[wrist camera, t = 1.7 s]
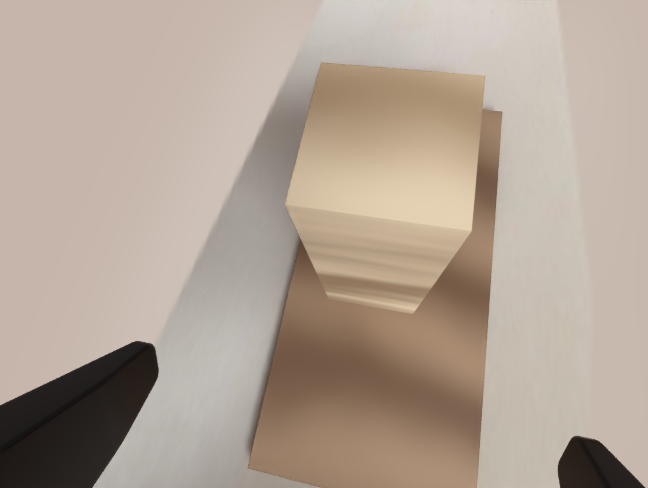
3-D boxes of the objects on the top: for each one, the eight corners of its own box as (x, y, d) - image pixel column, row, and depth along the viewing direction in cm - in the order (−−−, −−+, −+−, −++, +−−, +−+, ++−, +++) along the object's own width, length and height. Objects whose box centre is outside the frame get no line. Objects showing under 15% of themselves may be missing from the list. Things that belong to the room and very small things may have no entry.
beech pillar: (412, 314, 20) (471, 231, 9) (328, 298, 21) (285, 204, 10) (422, 234, 22) (485, 75, 10) (343, 223, 22) (320, 62, 11)
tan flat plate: (468, 519, 18) (473, 527, 17) (253, 463, 20) (247, 468, 19) (497, 121, 25) (502, 111, 24) (335, 105, 26) (334, 95, 25)
